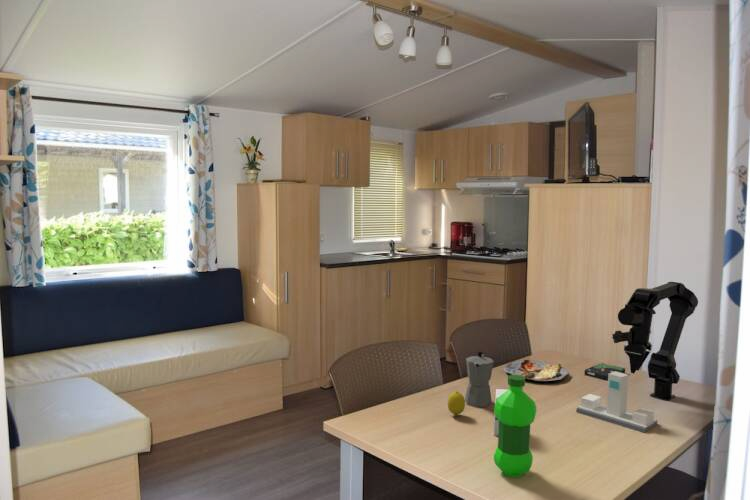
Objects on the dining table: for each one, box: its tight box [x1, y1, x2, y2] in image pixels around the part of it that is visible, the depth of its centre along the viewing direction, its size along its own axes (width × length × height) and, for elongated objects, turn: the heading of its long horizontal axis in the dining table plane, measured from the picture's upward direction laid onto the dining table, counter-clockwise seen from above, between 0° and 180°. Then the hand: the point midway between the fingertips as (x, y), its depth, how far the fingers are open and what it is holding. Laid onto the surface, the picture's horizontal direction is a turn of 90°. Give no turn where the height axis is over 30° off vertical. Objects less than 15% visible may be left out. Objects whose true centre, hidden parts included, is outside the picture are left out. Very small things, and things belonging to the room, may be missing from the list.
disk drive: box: [584, 363, 626, 382], centre depth 233 cm, size 10×3×15 cm
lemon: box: [447, 390, 466, 417], centre depth 186 cm, size 6×6×8 cm
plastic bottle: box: [493, 374, 537, 478], centre depth 148 cm, size 10×10×25 cm
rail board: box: [576, 393, 659, 434], centre depth 187 cm, size 10×22×4 cm, turn 43°
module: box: [606, 371, 629, 417], centre depth 186 cm, size 5×4×13 cm
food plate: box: [503, 358, 569, 383], centre depth 231 cm, size 25×23×4 cm
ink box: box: [493, 388, 509, 437], centre depth 174 cm, size 9×5×12 cm, turn 168°
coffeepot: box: [464, 350, 495, 408], centre depth 199 cm, size 15×9×18 cm, turn 163°
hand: (634, 371), depth 196 cm, fingers open, 9 cm apart
